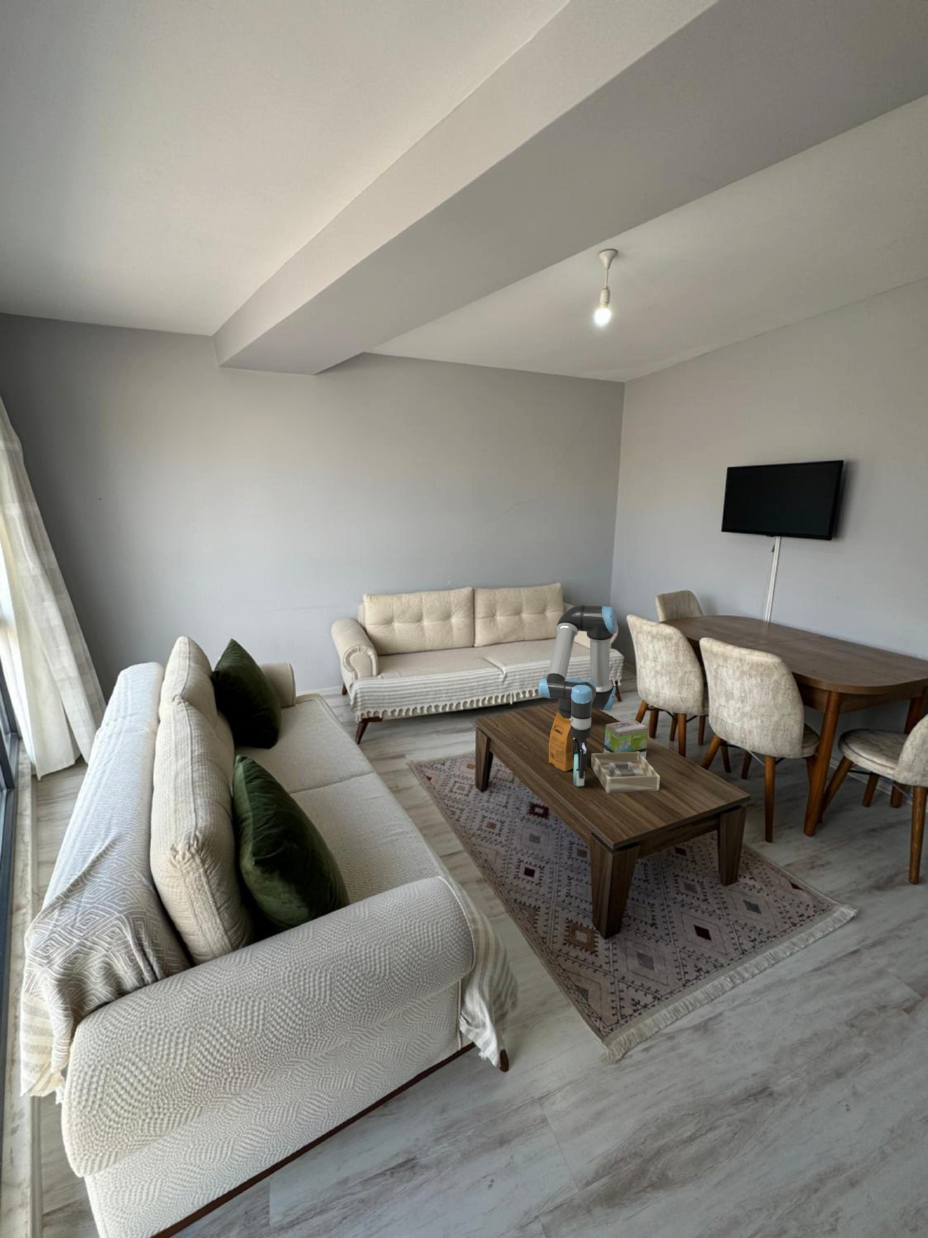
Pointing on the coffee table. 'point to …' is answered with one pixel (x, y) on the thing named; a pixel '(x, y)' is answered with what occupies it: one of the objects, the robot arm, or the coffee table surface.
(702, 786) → the coffee table surface
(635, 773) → the open box
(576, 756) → the peg
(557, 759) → the coffee package
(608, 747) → the tea box
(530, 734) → the coffee table surface
